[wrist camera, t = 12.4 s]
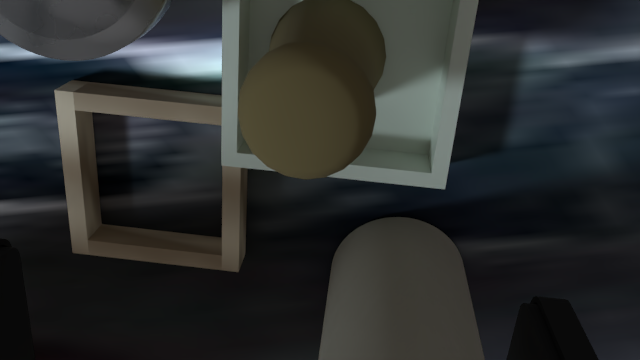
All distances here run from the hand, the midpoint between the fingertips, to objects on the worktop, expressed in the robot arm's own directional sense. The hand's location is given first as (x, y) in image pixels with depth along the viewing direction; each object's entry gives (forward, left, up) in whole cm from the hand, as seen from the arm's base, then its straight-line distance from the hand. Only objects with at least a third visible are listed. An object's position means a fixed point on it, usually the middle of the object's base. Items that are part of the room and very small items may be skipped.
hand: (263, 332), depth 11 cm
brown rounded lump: (0, +1, -22) cm, 22 cm away
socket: (-8, +10, -23) cm, 26 cm away
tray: (0, 0, -23) cm, 23 cm away
